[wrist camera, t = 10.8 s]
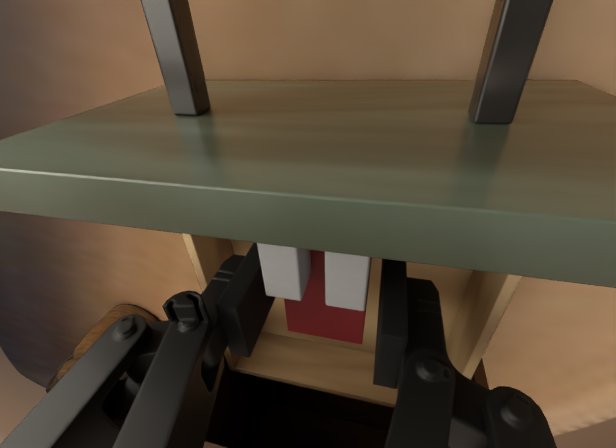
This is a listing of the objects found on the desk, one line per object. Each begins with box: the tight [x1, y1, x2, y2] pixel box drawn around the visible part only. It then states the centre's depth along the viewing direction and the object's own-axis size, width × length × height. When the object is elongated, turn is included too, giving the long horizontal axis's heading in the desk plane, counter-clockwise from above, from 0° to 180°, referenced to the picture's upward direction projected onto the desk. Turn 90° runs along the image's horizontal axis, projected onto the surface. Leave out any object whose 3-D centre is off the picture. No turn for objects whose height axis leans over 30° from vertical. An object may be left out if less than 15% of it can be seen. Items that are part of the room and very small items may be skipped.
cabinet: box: [203, 354, 489, 448], centre depth 23 cm, size 18×17×11 cm
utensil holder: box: [57, 304, 159, 380], centre depth 26 cm, size 6×6×12 cm
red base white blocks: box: [257, 243, 372, 344], centre depth 13 cm, size 7×3×6 cm, turn 2°
